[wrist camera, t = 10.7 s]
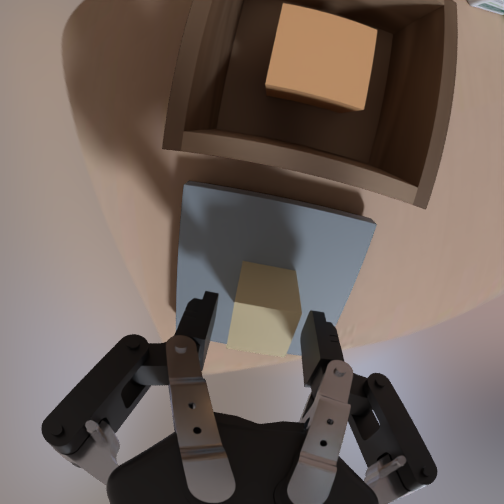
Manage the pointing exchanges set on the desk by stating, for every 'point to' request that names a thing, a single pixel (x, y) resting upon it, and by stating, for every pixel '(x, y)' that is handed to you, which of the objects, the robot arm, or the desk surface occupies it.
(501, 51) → the desk surface
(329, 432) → the robot arm
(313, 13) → the block
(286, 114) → the storage box
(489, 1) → the syrup box
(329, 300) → the lid
